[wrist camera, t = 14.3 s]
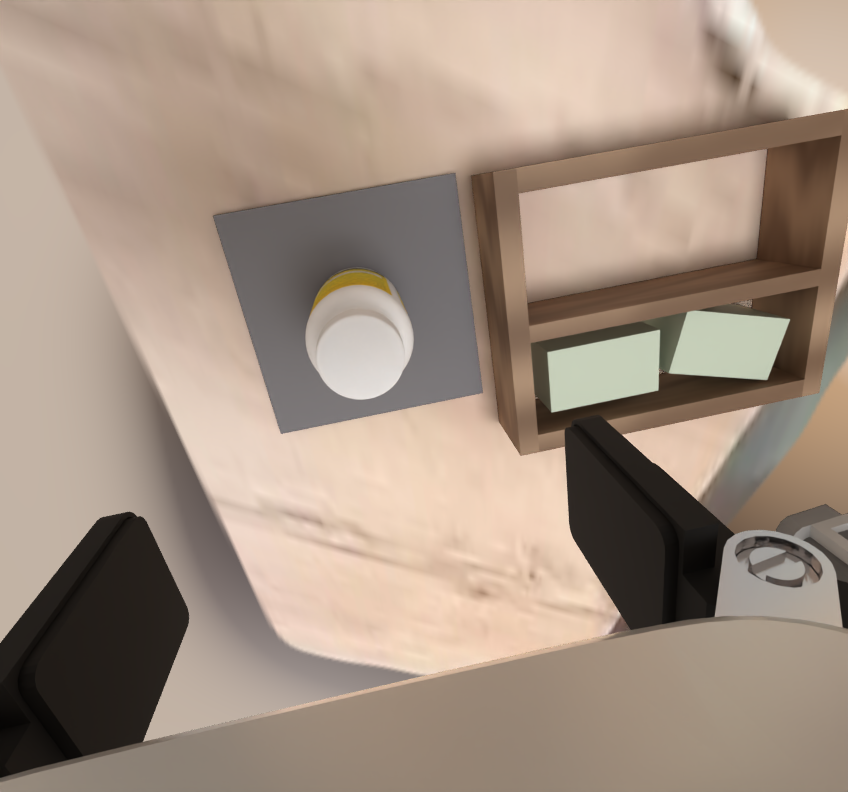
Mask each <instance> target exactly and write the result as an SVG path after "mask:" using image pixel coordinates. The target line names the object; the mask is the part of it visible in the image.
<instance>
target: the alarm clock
mask: <svg viewBox="0 0 848 792" xmlns="http://www.w3.org/2000/svg"><path fill="white" fill-rule="evenodd" d="M776 532H780V533H783V534H787V535H791V536H794V537H796V538H798V539H801V540H803V541H805V542H807V543H809V544H811V545H812V546H814V547H815V548H817V549H818V550H820V551H821V552H823V554H824V555H825V556H826V557H827V558H828V559H829V560H830V561H831V562H832V564H833V567H834V569H835V572H836V577H837V580H840V581H844V582H848V513H847V514H843V515H841V514H840V513H838V512H837V511H835V510H834V509H832V508H831V507H829V506H828V505H826V504H824V505H821V506H818V507H815V508H812V509H808V510H806V511H802V512H799V513H796V514H793V515H790V516H787V517H786V518H785V519H783V520H782V521H781V522H780V524H779V525H778V527H777V528H776Z"/></svg>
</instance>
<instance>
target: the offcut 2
mask: <svg viewBox="0 0 848 792" xmlns="http://www.w3.org/2000/svg"><path fill="white" fill-rule="evenodd" d="M789 321H790V319H788V318H784V317H781V316H777V315H773V314H770V313H766V312H763V311H759V310H756V309H752V308H748V307H745V306H741V305H734V304H725V305H720V306H715V307H710V308H705V309H700V310H695V311H690V312H685V313H680V314H675V315H670V316H665V317H660V318H655V319H649V320H644V321H641V322H644V323H646V324H648V325H650V326H653V327H655V328H657V329H659V330H660V350H659V368H660V369H662V370H664V371H665V372H667V373H671V374H686V375H700V376H715V377H730V378H745V379H760V380H767V379H768V376H769V374H770V371H771V369H772V366H773V363H774V361H775V358H776V355H777V353H778V350H779V348H780V345H781V342H782V340H783V337H784V334H785V332H786V329H787V327H788V324H789Z"/></svg>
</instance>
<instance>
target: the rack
mask: <svg viewBox="0 0 848 792" xmlns="http://www.w3.org/2000/svg"><path fill="white" fill-rule="evenodd" d="M762 149H768V154H767V164H766V174H765V184H764V194H763V204H762V214H761V224H760V233H759V243H758V253H757V259H754V260H749V261H744V262H739V263H734V264H728V265H723V266H718V267H713V268H708V269H703V270H697V271H692V272H687V273H682V274H677V275H672V276H666V277H661V278H656V279H651V280H646V281H641V282H635V283H630V284H625V285H620V286H615V287H610V288H604V289H599V290H594V291H589V292H584V293H579V294H573V295H568V296H563V297H558V298H553V299H548V300H542V301H537V302H532V303H527V294H526V281H525V269H524V257H523V244H522V232H521V220H520V207H519V195H518V193H524V192H529V191H535V190H540V189H546V188H551V187H557V186H563V185H568V184H574V183H579V182H585V181H590V180H596V179H601V178H607V177H612V176H618V175H624V174H629V173H635V172H640V171H646V170H651V169H657V168H662V167H668V166H673V165H679V164H684V163H690V162H696V161H701V160H707V159H712V158H718V157H723V156H729V155H734V154H740V153H745V152H751V151H757V150H762ZM471 178H472V187H473V196H474V204H475V213H476V222H477V231H478V239H479V248H480V257H481V266H482V274H483V283H484V292H485V301H486V309H487V318H488V327H489V336H490V344H491V353H492V362H493V371H494V379H495V388H496V397H497V406H498V414H499V422H500V424H501V426H502V427H503V429H504V430H505V432H506V433H507V435H508V437H509V438H510V440H511V441H512V443H513V444H514V446H515V448H516V449H517V451H518V452H519V454H520V455H521V456H522V455H527V454H532V453H537V452H541V451H546V450H551V449H556V448H560V447H565V436H564V433H565V429H566V428H567V427H571V424H572V421H573V420H574V419H579V418H584V417H589V416H593V415H600V416H601V417H603V418H604V419H605V420H606V421H607V422H608V423H609V424H610V425H611V426H612V427H614V428H615V429H616V430H617V431H618V432H619V433H620V434H621V435H622V434H627V433H631V432H636V431H641V430H646V429H650V428H655V427H660V426H665V425H669V424H674V423H679V422H684V421H688V420H693V419H698V418H703V417H707V416H712V415H717V414H721V413H726V412H731V411H736V410H740V409H745V408H750V407H755V406H759V405H764V404H769V403H774V402H778V401H783V400H788V399H793V398H797V397H802V396H807V395H812V394H816V393H819V391H820V385H821V379H822V373H823V367H824V361H825V355H826V349H827V343H828V337H829V331H830V325H831V319H832V313H833V307H834V301H835V295H836V289H837V283H838V277H839V271H840V265H841V259H842V253H843V247H844V241H845V235H846V229H847V223H848V109H845V110H839V111H833V112H828V113H822V114H816V115H811V116H805V117H800V118H794V119H788V120H783V121H777V122H771V123H766V124H760V125H754V126H749V127H743V128H738V129H732V130H726V131H721V132H715V133H709V134H704V135H698V136H692V137H687V138H681V139H676V140H670V141H664V142H659V143H653V144H647V145H642V146H636V147H630V148H625V149H619V150H614V151H608V152H602V153H597V154H591V155H585V156H580V157H574V158H568V159H563V160H557V161H552V162H546V163H540V164H535V165H529V166H523V167H518V168H512V169H506V170H501V171H495V172H490V173H484V174H479V175H473V176H471ZM750 299H753V303H752V309H756V310H759V311H763V312H766V313H770V314H773V315H777V316H781V317H784V318H788V319H790V321H789V324H788V327H787V329H786V332H785V334H784V337H783V340H782V342H781V345H780V348H779V350H778V353H777V355H776V358H775V361H774V363H773V366H772V369H771V371H770V374H769V376H768V379H767V380H760V379H745V378H730V377H715V376H700V375H686V374H671V373H663V374H659V387H658V391H653V392H648V393H644V394H639V395H634V396H629V397H624V398H620V399H615V400H610V401H605V402H600V403H595V404H591V405H586V406H581V407H576V408H571V409H566V410H562V411H557V412H551V411H550V410H549V409H548V408H547V407H546V406H545V405H544V404H543V403H542V401H541V400H540V399H536V400H535V393H534V380H533V368H532V355H531V343H533V342H538V341H543V340H549V339H554V338H559V337H564V336H569V335H574V334H579V333H584V332H589V331H594V330H599V329H604V328H609V327H614V326H619V325H624V324H629V323H634V322H639V321H644V320H649V319H655V318H660V317H665V316H670V315H675V314H680V313H685V312H690V311H695V310H700V309H705V308H710V307H715V306H720V305H725V304H730V303H735V302H740V301H745V300H750Z"/></svg>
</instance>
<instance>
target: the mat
mask: <svg viewBox="0 0 848 792" xmlns="http://www.w3.org/2000/svg"><path fill="white" fill-rule="evenodd" d="M213 218H214V221H215V224H216V227H217V231H218V234H219V237H220V240H221V243H222V247H223V250H224V253H225V256H226V259H227V263H228V266H229V269H230V272H231V275H232V279H233V282H234V285H235V288H236V291H237V295H238V298H239V301H240V304H241V307H242V311H243V314H244V317H245V320H246V323H247V327H248V330H249V333H250V336H251V339H252V343H253V346H254V349H255V352H256V355H257V359H258V362H259V365H260V368H261V371H262V375H263V378H264V381H265V384H266V387H267V391H268V394H269V397H270V400H271V403H272V407H273V410H274V413H275V416H276V419H277V423H278V426H279V429H280V432H281V434H283V433H288V432H293V431H297V430H302V429H307V428H312V427H317V426H322V425H327V424H332V423H337V422H342V421H347V420H352V419H357V418H362V417H366V416H371V415H376V414H381V413H386V412H391V411H396V410H401V409H406V408H411V407H416V406H421V405H426V404H431V403H436V402H440V401H445V400H450V399H455V398H460V397H465V396H470V395H475V394H480V393H483V390H482V382H481V374H480V366H479V358H478V350H477V342H476V334H475V326H474V318H473V310H472V302H471V294H470V286H469V278H468V270H467V262H466V254H465V246H464V238H463V231H462V223H461V215H460V207H459V199H458V191H457V183H456V175H455V173H452V174H447V175H441V176H435V177H430V178H424V179H418V180H413V181H407V182H401V183H396V184H390V185H385V186H379V187H373V188H368V189H362V190H356V191H351V192H345V193H339V194H334V195H328V196H322V197H317V198H311V199H305V200H300V201H294V202H288V203H283V204H277V205H271V206H266V207H260V208H254V209H249V210H243V211H237V212H232V213H226V214H220V215H215V216H213ZM357 267H359V268H367V269H371V270H373V271H376V272H378V273H380V274H381V275H383V276H384V277H386V278H387V279H388V280H389V281H390V282H391V283H392V284H393V286H394V287H395V289H396V290H397V292H398V294H399V296H400V298H401V300H402V302H403V305H404V307H405V309H406V312H407V314H408V316H409V319H410V321H411V325H412V329H413V336H414V343H413V350H412V354H411V357H410V360H409V362H408V363H407V365H406V367H405V368H404V370H403V372H402V374H401V376H400V378H399V380H398V381H397V382H396V384H395V385H394V386H393V387H392V388H391V389H390V390H388V391H387V392H385V393H384V394H382V395H380V396H377V397H375V398H371V399H364V400H357V399H350V398H347V397H344V396H341V395H339V394H337V393H336V392H334V391H333V390H332V389H330V388H329V387H328V386H327V385H326V383H325V382H324V381H323V380H322V378H321V376H320V374H319V372H318V371H317V370H316V369H315V367H314V366H313V364H312V362H311V360H310V358H309V355H308V353H307V348H306V340H305V335H306V326H307V322H308V319H309V316H310V313H311V310H312V307H313V304H314V301H315V298H316V296H317V293H318V291H319V290H320V288H321V287H322V285H323V284H324V283H325V282H326V281H327V280H328V279H329V278H330V277H331V276H332V275H334V274H336V273H337V272H339V271H342V270H345V269H349V268H357Z"/></svg>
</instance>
